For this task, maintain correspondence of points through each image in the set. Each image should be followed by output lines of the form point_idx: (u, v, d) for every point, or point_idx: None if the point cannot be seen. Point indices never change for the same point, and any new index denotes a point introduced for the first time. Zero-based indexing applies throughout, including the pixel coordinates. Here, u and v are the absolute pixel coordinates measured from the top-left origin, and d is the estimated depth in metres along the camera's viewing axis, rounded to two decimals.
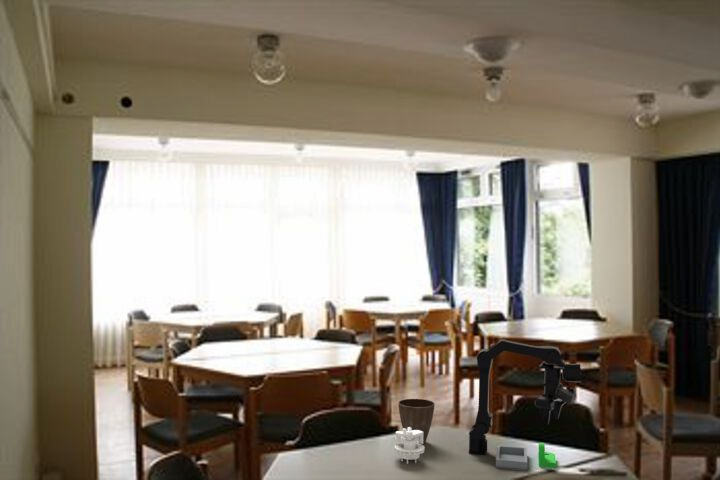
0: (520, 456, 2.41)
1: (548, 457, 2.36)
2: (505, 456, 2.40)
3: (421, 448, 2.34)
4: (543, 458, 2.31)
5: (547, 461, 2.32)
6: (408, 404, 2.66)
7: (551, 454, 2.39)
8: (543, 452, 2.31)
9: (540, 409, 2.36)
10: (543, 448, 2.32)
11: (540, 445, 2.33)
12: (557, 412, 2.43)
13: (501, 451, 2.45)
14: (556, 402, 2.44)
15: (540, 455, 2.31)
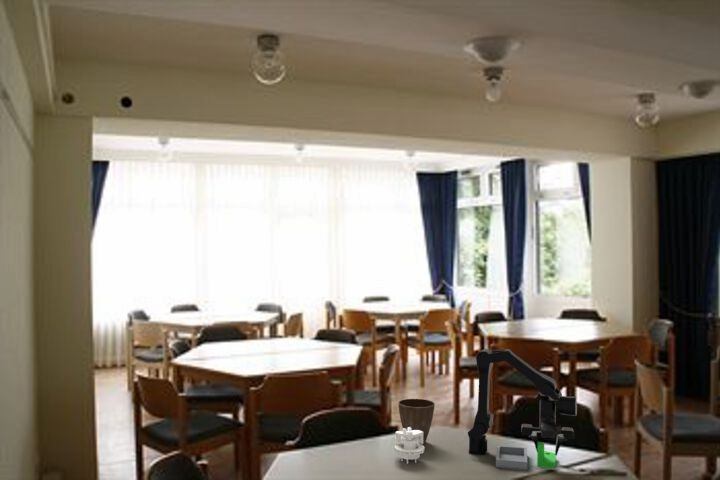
0: (520, 456, 2.41)
1: (548, 456, 2.36)
2: (505, 456, 2.40)
3: (421, 448, 2.34)
4: (541, 457, 2.31)
5: (546, 460, 2.32)
6: (408, 404, 2.66)
7: (551, 454, 2.39)
8: (541, 451, 2.31)
9: None
10: (542, 447, 2.32)
11: (539, 444, 2.33)
12: (556, 448, 2.36)
13: (501, 451, 2.45)
14: (557, 437, 2.36)
15: (538, 454, 2.32)
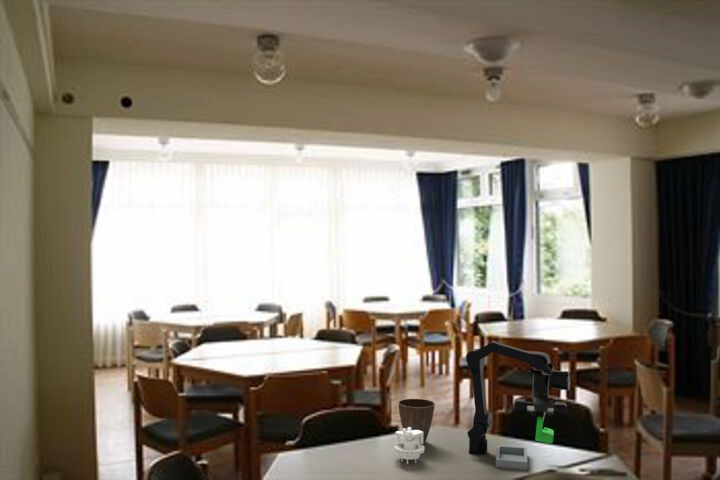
0: (520, 456, 2.41)
1: (546, 432, 2.36)
2: (505, 456, 2.40)
3: (421, 448, 2.34)
4: (540, 432, 2.31)
5: (544, 435, 2.31)
6: (408, 404, 2.66)
7: (549, 430, 2.39)
8: (541, 426, 2.31)
9: None
10: (541, 422, 2.31)
11: (538, 419, 2.32)
12: None
13: (501, 451, 2.45)
14: (544, 411, 2.37)
15: (537, 429, 2.31)
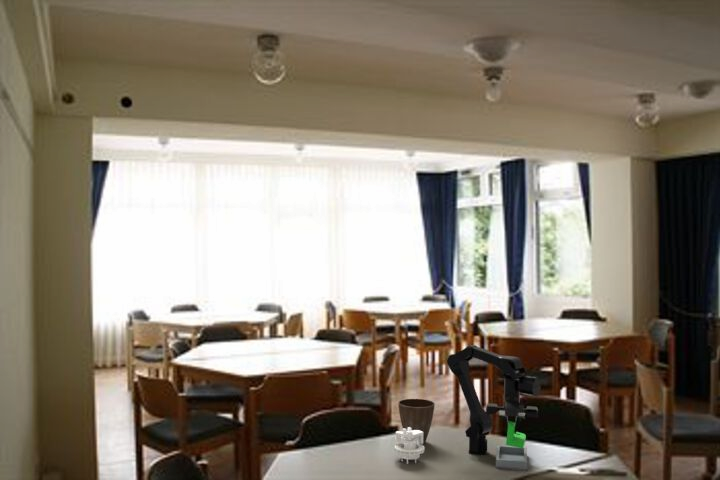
0: (520, 456, 2.41)
1: (518, 437, 2.36)
2: (505, 456, 2.40)
3: (421, 448, 2.34)
4: (511, 436, 2.31)
5: (515, 440, 2.31)
6: (408, 404, 2.66)
7: (522, 435, 2.39)
8: (512, 431, 2.31)
9: None
10: (512, 427, 2.31)
11: (510, 423, 2.32)
12: (515, 426, 2.36)
13: (501, 451, 2.45)
14: None
15: (508, 433, 2.31)
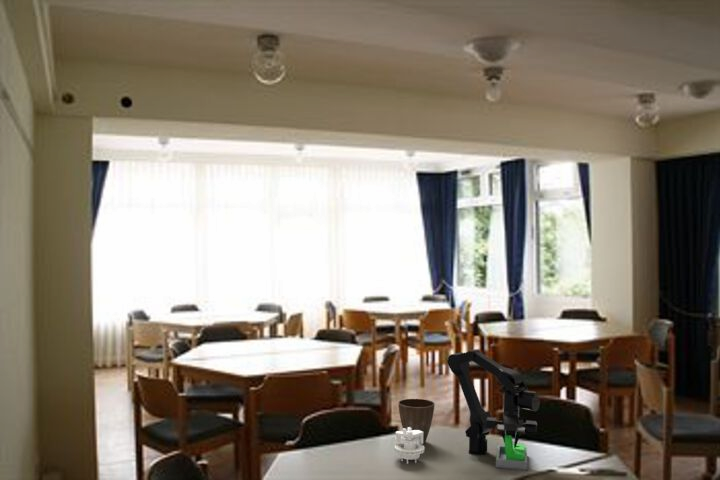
0: None
1: (517, 449, 2.36)
2: (505, 456, 2.40)
3: (421, 448, 2.34)
4: (509, 450, 2.31)
5: (514, 453, 2.32)
6: (408, 404, 2.66)
7: (521, 446, 2.39)
8: (509, 444, 2.31)
9: None
10: (509, 440, 2.32)
11: (506, 437, 2.33)
12: (515, 441, 2.36)
13: (501, 451, 2.45)
14: None
15: (506, 447, 2.31)
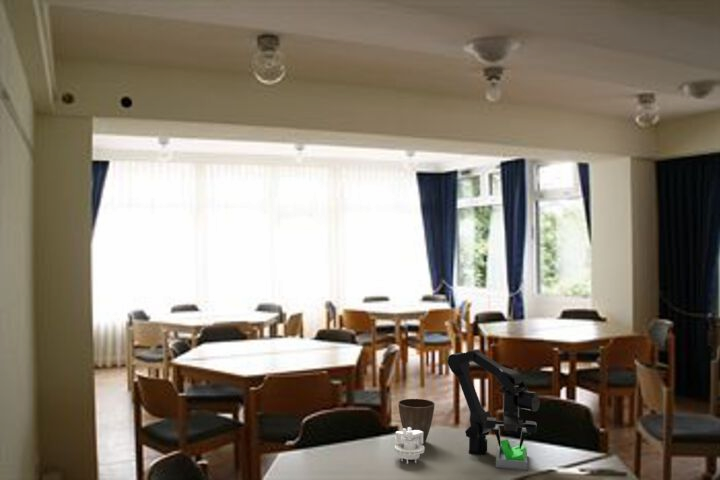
0: None
1: (517, 451, 2.36)
2: None
3: (421, 448, 2.34)
4: (509, 454, 2.31)
5: (514, 456, 2.32)
6: (408, 404, 2.66)
7: (521, 447, 2.39)
8: (506, 449, 2.31)
9: None
10: (505, 445, 2.32)
11: (502, 443, 2.33)
12: (520, 442, 2.36)
13: (501, 451, 2.45)
14: None
15: (505, 452, 2.32)
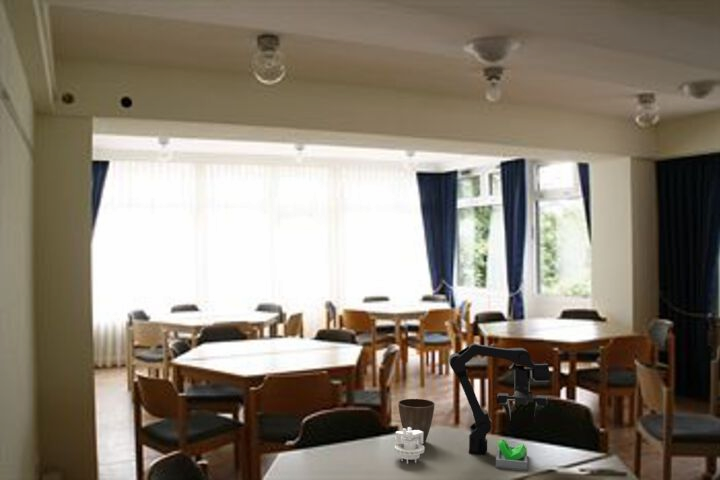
0: None
1: (516, 450, 2.36)
2: None
3: (421, 448, 2.34)
4: (507, 454, 2.32)
5: (513, 454, 2.32)
6: (408, 404, 2.66)
7: (520, 446, 2.39)
8: (504, 448, 2.33)
9: None
10: (502, 445, 2.33)
11: (499, 443, 2.35)
12: None
13: None
14: None
15: (503, 452, 2.33)
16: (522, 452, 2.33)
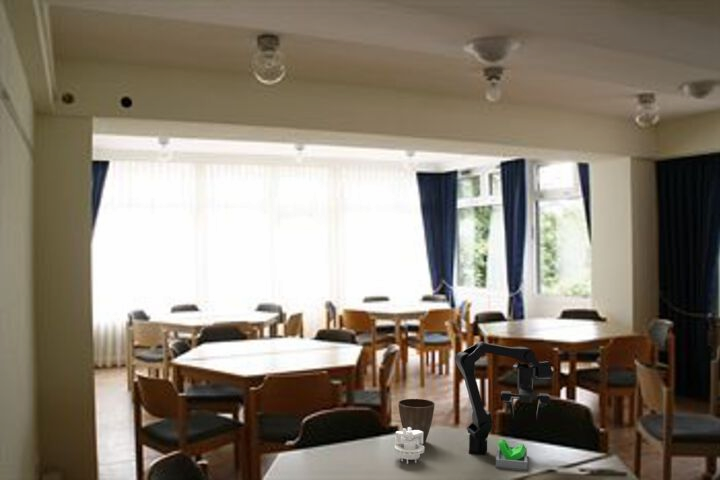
0: None
1: (516, 450, 2.37)
2: None
3: (421, 448, 2.34)
4: (507, 453, 2.32)
5: (513, 454, 2.33)
6: (408, 404, 2.66)
7: (520, 446, 2.40)
8: (504, 448, 2.33)
9: None
10: (502, 444, 2.33)
11: (499, 443, 2.35)
12: (537, 413, 2.50)
13: None
14: (538, 403, 2.50)
15: (503, 452, 2.33)
16: (522, 452, 2.33)
